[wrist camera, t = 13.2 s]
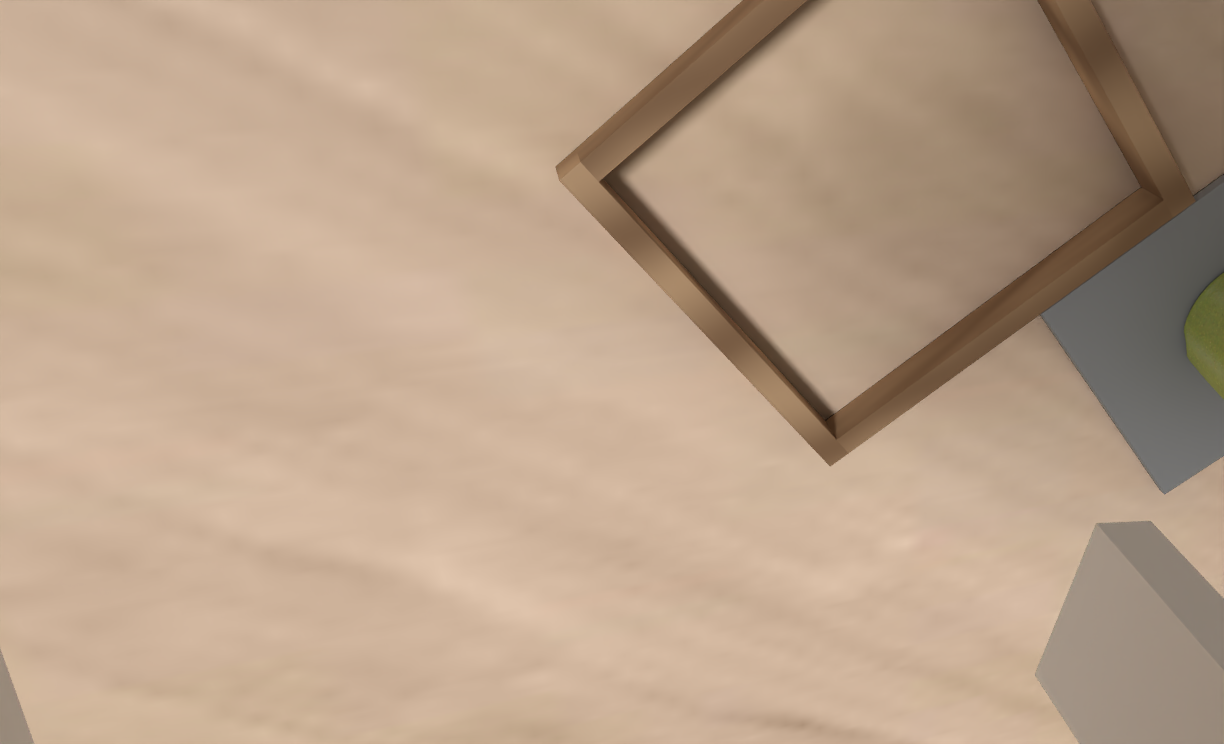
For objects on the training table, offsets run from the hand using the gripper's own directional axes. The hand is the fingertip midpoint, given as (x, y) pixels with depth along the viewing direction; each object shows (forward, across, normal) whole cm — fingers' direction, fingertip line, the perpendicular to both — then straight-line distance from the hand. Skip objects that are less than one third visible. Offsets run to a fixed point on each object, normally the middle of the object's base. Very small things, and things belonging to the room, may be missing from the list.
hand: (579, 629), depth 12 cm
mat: (+26, +33, -10) cm, 43 cm away
